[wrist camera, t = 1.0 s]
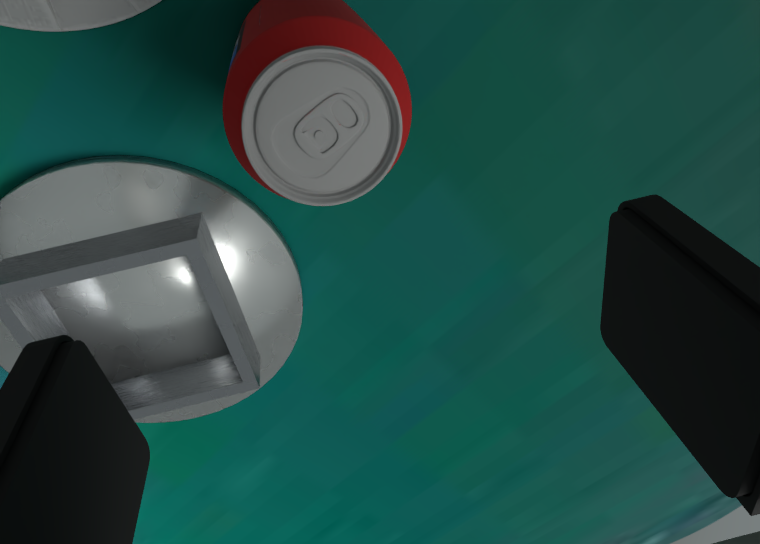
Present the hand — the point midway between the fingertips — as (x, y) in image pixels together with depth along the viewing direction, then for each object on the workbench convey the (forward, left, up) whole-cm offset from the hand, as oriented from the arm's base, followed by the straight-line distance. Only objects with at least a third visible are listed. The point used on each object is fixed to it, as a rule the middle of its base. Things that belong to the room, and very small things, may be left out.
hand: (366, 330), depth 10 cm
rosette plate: (+12, -13, -22) cm, 28 cm away
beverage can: (0, 0, -22) cm, 22 cm away
